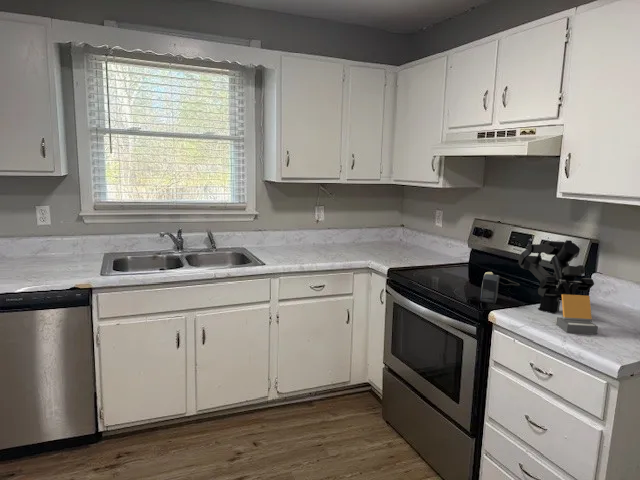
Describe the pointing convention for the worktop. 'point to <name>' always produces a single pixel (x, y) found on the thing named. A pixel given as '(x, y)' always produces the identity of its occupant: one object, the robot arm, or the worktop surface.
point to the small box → (490, 288)
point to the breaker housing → (577, 326)
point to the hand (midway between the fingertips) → (572, 302)
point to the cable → (504, 278)
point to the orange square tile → (576, 308)
